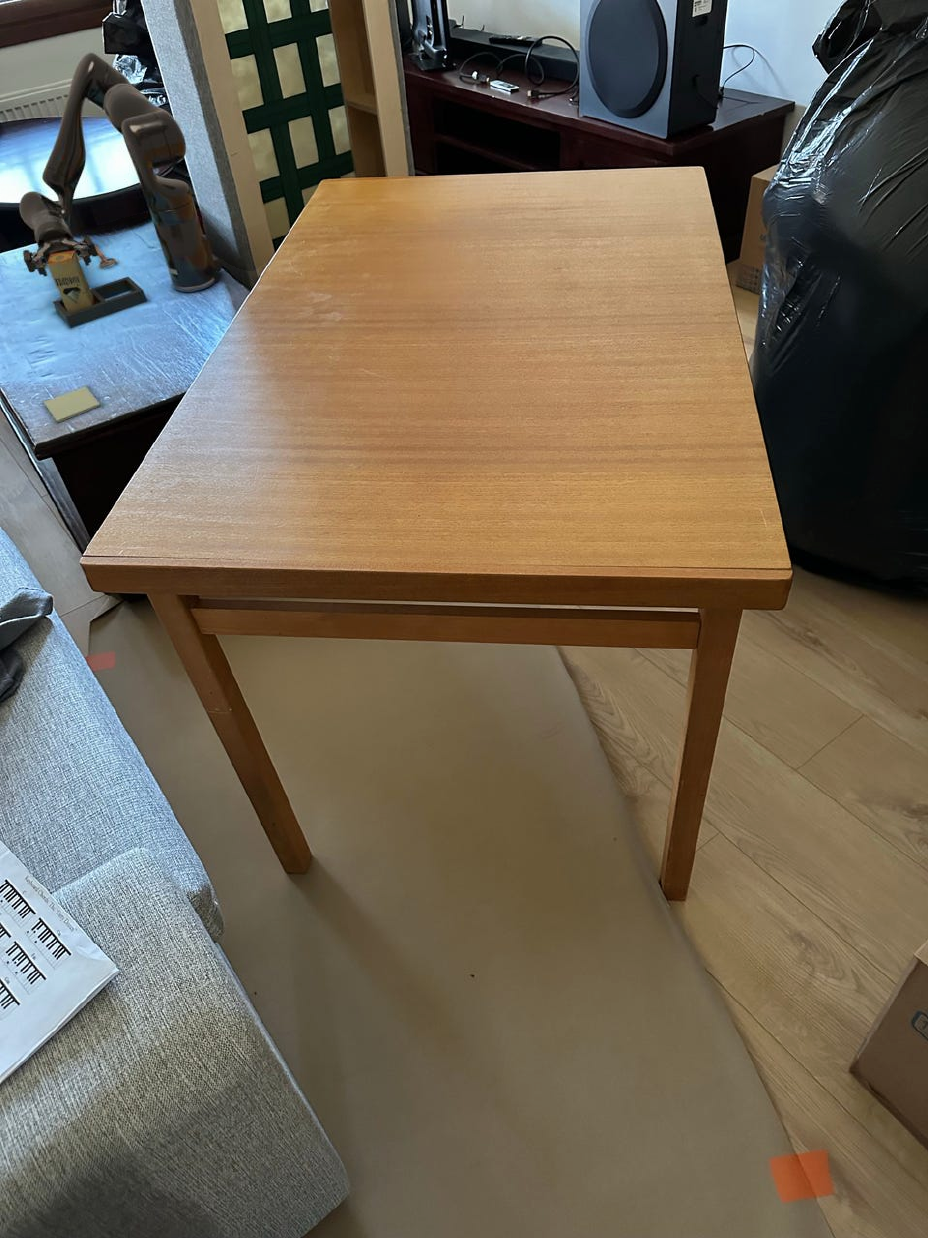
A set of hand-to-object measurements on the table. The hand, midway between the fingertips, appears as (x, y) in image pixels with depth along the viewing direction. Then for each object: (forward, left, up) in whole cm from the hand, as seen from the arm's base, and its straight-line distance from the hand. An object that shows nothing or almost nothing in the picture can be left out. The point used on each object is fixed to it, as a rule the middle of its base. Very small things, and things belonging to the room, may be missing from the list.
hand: (64, 266), depth 173 cm
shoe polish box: (0, 0, -10) cm, 10 cm away
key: (-12, -26, -10) cm, 30 cm away
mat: (+14, +35, -10) cm, 39 cm away
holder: (-4, 0, -10) cm, 11 cm away
